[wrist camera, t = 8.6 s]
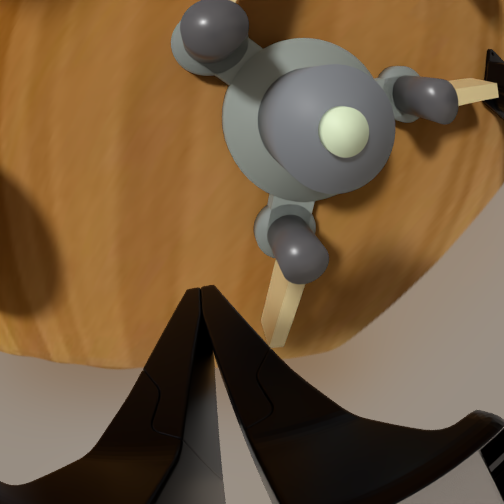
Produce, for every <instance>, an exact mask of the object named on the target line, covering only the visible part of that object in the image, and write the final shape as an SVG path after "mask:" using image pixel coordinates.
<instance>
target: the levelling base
mask: <svg viewBox="0 0 504 504" xmlns="http://www.w3.org/2000/svg"><path fill="white" fill-rule="evenodd" d="M180 23H181V21H180V22H179V23H178V25H177V26H176V28H175V29H174V32H173V34H172V38H171V48H172V52H173V55H174V57H175V59H176V60H177V62H178V63H179V64H180V65H181V66H182V67H183V68H184V69H185V70H187V71H189V72H191V73H193V74H197V75H202V76H213V75H215V76H216V77H218V78H219V79H220V80H222V81H223V82H225V83H226V84H227V85H229V86H228V88H227V91H226V94H225V97H224V102H223V107H222V128H223V133H224V138H225V141H226V144H227V147H228V149H229V151H230V153H231V155H232V157H233V159H234V161H235V162H236V164H237V165H238V167H239V168H240V170H241V171H242V172H243V173H244V174H245V176H246V177H247V178H248V179H249V180H250V181H252V182H253V183H254V184H255V185H256V186H258V187H259V188H261V189H262V190H264V191H265V192H267V193H269V199H268V205H266V206H265V207H264V208H263V209H262V210H261V211H260V212H259V214H258V215H257V217H256V220H255V223H254V235H255V238H256V241H257V243H258V245H259V247H260V249H261V250H262V251H263V252H264V253H265V254H266V255H268V256H270V257H272V258H275V256H274V254H273V252H272V250H271V248H270V245H269V243H268V241H267V232H268V229H269V227H270V225H271V224H272V223H273V222H274V221H275V220H276V219H278V218H279V217H282V216H284V215H296V216H299V217H301V218H302V219H303V220H304V221H305V222H306V224H307V225H308V226H309V227H310V229H311V230H312V231H313V233H314V234H315V231H316V224H315V220H314V217H313V215H312V210H313V206H314V203H315V201H317V200H322V199H326V198H329V197H332V196H334V195H336V194H342V193H347V192H350V191H353V190H356V189H358V188H360V187H362V186H364V185H365V184H367V183H368V182H370V181H371V180H372V179H373V178H374V177H375V176H376V175H377V174H378V173H379V172H380V171H381V169H382V168H383V167H384V165H385V163H386V162H387V160H388V158H389V156H390V153H391V151H392V147H393V144H394V139H395V120H397V121H401V122H405V123H410V122H413V121H415V120H417V119H418V118H419V117H416V116H413V115H409V114H405V113H403V112H401V111H400V110H399V109H398V108H397V106H396V104H395V102H394V99H393V86H394V83H395V81H396V80H397V79H398V78H399V77H401V76H404V75H408V76H419V75H418V74H417V72H415V71H414V70H413V69H411V68H409V67H405V66H391V67H388V68H386V69H384V70H383V71H382V72H381V73H380V74H379V76H378V78H375V79H373V77H372V75H371V74H370V72H369V71H368V70H367V68H366V67H365V66H364V65H363V64H362V63H361V62H360V61H359V60H358V59H357V58H356V57H355V56H353V55H352V54H351V53H350V52H348V51H346V50H345V49H343V48H341V47H339V46H337V45H335V44H332V43H330V42H327V41H323V40H319V39H311V38H295V39H289V40H284V41H281V42H277V43H274V44H272V45H270V46H268V47H266V48H264V49H263V48H261V47H260V46H259V45H257V44H256V43H255V42H253V41H252V40H251V39H249V38H248V33H247V36H246V38H245V39H244V41H243V42H242V43H241V44H240V45H239V46H238V47H237V48H236V49H235V50H234V51H233V52H232V53H231V54H230V55H229V56H228V57H227V58H226V59H224V60H222V61H219V62H216V63H202V62H198V61H196V60H194V59H193V58H191V57H190V56H189V55H188V54H187V52H186V51H185V48H184V45H183V41H182V37H181V33H180ZM419 77H420V76H419Z"/></svg>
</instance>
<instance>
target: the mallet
mask: <svg viewBox="0 0 504 504" xmlns="http://www.w3.org/2000/svg"><path fill="white" fill-rule="evenodd" d="M267 241H268V243H269V245H270V248H271V250H272V252H273V254H274V256H275V258H276V261H275V265H274V269H273V273H272V277H271V282H270V286H269V290H268V294H267V298H266V302H265V306H264V310H263V314H262V318H261V323H262V327H263V330H264V333H265V337H266V340H267V343H268V346H269V347H270V348H274V347H284V344H285V342H286V339H287V336H288V333H289V331H290V328H291V325H292V322H293V319H294V316H295V313H296V310H297V308H298V305H299V302H300V299H301V296H302V293H303V290H304V287H305V284H307V283H310V282H312V281H314V280H316V279H317V278H319V277H320V276H321V275H322V274H323V273H324V271H325V270H326V268H327V266H328V263H329V254H328V252H327V250H326V248H325V247H324V246H323V244H322V243H321V242H320V241H319V239H318V238H317V237H316V235H315V234H314V233H313V231H312V230H311V229H310V227H309V226H308V225H307V224H306V222H305V221H304V220H303V219H302V218H301V217H299V216H296V215H284V216H282V217H279V218H278V219H276V220H275V221H274V222H273V223H272V224H271V225H270V227H269V229H268V232H267Z"/></svg>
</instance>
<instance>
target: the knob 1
mask: <svg viewBox="0 0 504 504" xmlns="http://www.w3.org/2000/svg"><path fill="white" fill-rule="evenodd" d="M248 30H249V21H248V17H247V15H246V13H245V11H244V10H243V9H242V8H241V7H240V6H239V5H238V4H236V0H201V1H199V2H197V3H195V4H193V5H192V6H191V7H190V8H189V9H188V10H187V11H186V12H185V13H184V15H183V17H182V19H181V23H180V33H181V37H182V41H183V45H184V48H185V51H186V52H187V54H188V55H189V56H190V57H191V58H193V59H194V60H196V61H198V62H202V63H216V62H219V61H222V60H224V59H226V58H227V57H228V56H229V55H230V54H231V53H232V52H233V51H234V50H235V49H236V48H237V47H238V46H239V45H240V44H241V43H242V42H243V41H244V39H245V38H246V36H247V33H248Z"/></svg>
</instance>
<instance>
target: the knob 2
mask: <svg viewBox="0 0 504 504" xmlns="http://www.w3.org/2000/svg"><path fill="white" fill-rule="evenodd" d="M498 97H499V95H498V87H497V83H493V82H489V81H484V80H479V79H474V78H467V79H459V80H451V81H447V80H444V79H436V78H428V77H419V76H408V75H404V76H401V77H399V78H398V79H397V80H396V81H395V83H394V86H393V99H394V102H395V104H396V106H397V108H398V109H399V110H400V111H401V112H403V113H405V114H409V115H413V116H416V117H420V118H424V119H427V120H431V121H434V122H437V123H441V124H449V123H451V122H452V121H453V120H454V119H455V117H456V115H457V112H458V106H460V105H464V104H469V103H473V102H478V101H483V100H488V99H493V98H498Z"/></svg>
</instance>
